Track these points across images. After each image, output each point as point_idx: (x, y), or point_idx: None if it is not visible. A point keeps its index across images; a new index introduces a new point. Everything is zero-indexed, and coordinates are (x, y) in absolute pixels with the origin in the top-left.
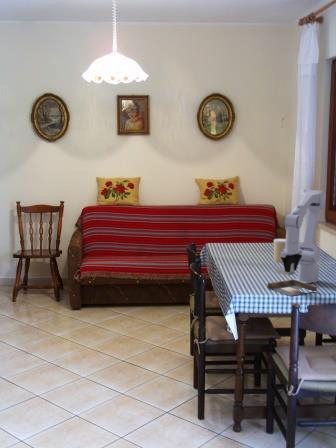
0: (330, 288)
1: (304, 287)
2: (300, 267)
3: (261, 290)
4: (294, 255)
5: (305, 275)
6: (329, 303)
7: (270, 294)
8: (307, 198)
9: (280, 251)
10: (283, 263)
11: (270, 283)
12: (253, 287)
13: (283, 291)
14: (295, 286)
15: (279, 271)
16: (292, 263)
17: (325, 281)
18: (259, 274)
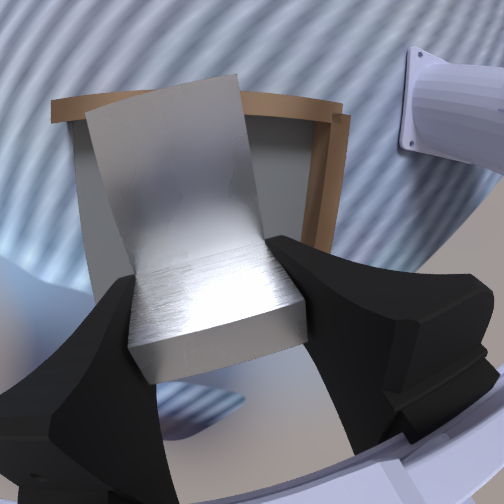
0: (412, 271)
1: (304, 234)
2: (483, 102)
3: (5, 130)
4: (374, 427)
5: (446, 137)
6: (211, 420)
7: (10, 232)
8: None
9: None
10: (66, 346)
11: (66, 116)
12: (8, 45)
13: (109, 230)
14: (289, 167)
15: (105, 172)
16: (255, 348)
17: (483, 174)
18: None
